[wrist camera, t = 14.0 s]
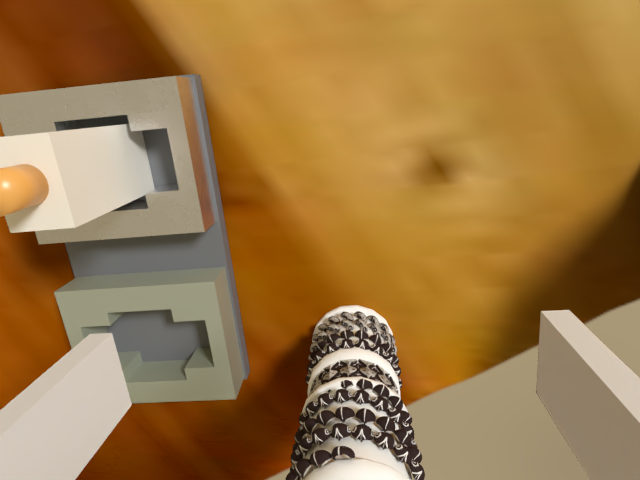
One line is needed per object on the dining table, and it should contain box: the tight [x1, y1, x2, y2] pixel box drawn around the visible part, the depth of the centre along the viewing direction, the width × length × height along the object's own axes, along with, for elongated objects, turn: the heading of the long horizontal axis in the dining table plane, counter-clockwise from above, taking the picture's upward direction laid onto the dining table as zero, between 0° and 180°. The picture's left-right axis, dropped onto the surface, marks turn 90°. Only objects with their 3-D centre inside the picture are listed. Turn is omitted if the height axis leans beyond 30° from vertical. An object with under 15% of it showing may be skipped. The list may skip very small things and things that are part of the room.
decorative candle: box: [286, 305, 425, 480], centre depth 32 cm, size 9×9×25 cm
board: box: [65, 74, 250, 379], centre depth 41 cm, size 30×16×2 cm, turn 5°
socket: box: [0, 76, 217, 244], centre depth 36 cm, size 12×15×4 cm
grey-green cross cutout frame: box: [54, 267, 244, 403], centre depth 42 cm, size 12×15×4 cm
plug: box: [0, 124, 155, 233], centre depth 31 cm, size 6×4×15 cm
